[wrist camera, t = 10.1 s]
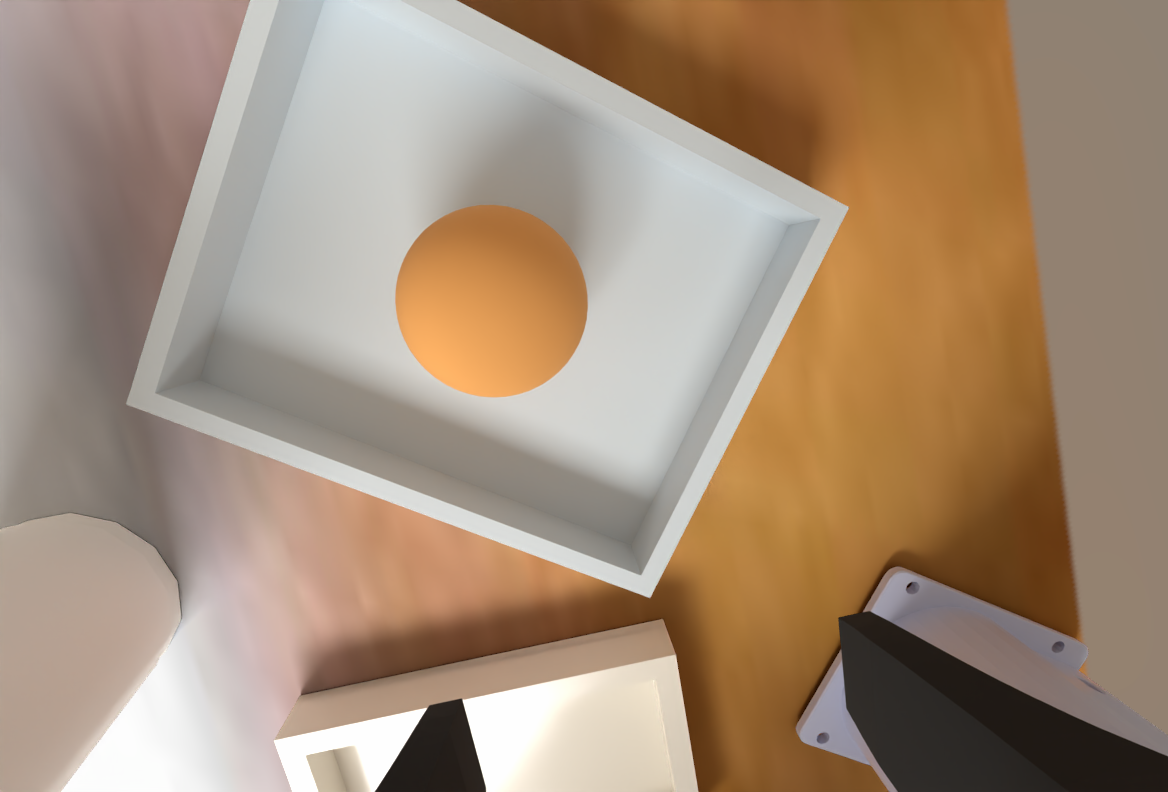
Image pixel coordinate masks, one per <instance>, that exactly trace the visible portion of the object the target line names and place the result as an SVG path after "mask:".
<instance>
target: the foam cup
mask: <svg viewBox="0 0 1168 792" xmlns="http://www.w3.org/2000/svg"><path fill="white" fill-rule="evenodd" d="M180 621H181V609H180V600H179V590H178V582H177V580H176V579H175V577H174V576H173V574H172V573H171V571H170V570H169V568H168V567H167V565H166V564H165V562H164V561H163V559H162V558H161V556H160V555H159V553H158V552H157V550H156V549H155V547H153V546H152V545H150V544H149V543H147V542H146V541H144V540H143V539H141V538H140V537H138V536H137V535H135V534H134V533H132V532H130V531H129V530H127V529H126V528H124V527H123V526H121V525H120V524H118V523H117V522H112V521H107V520H103V519H98V518H93V517H88V516H84V515H79V514H74V513H67V514H61V515H56V516H50V517H45V518H40V519H34V520H29V521H25V522H23V523H21V524H19V525H14V526H9V527H5V528H1V529H0V792H61V791H62V789H63V788H64V787H65V785H66V784H67V783H68V781H69V780H70V779H71V777H72V776H73V775H74V773H75V772H76V771H77V769H78V768H79V767H80V766H81V764H82V763H83V762H84V760H85V759H86V758H87V756H88V755H89V754H90V752H91V751H92V750H93V748H94V747H95V746H96V744H97V743H98V742H99V740H100V739H101V738H102V736H103V735H104V734H105V732H106V731H107V730H108V728H109V727H110V726H111V725H112V723H113V722H114V721H115V719H116V718H117V717H118V715H119V714H120V713H121V711H122V710H123V709H124V707H125V706H126V705H127V703H128V702H129V701H130V699H131V698H132V697H133V695H134V694H135V693H136V691H137V690H138V689H139V687H140V686H141V685H142V684H143V682H144V681H145V680H146V678H147V677H148V676H149V674H150V673H151V672H152V670H153V669H154V668H155V666H156V665H157V663H158V661H159V658H160V657H161V656H162V655H163V654H164V653H165V652H166V651H167V649H168V647H169V644H170V642H171V640H172V638H173V636H174V634H175V632H176V629H177V627H178V625H179V623H180Z"/></svg>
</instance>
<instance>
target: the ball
mask: <svg viewBox="0 0 1168 792" xmlns="http://www.w3.org/2000/svg"><path fill="white" fill-rule="evenodd" d="M395 305H396V315H397V319H398V323H399V327H400V330H401V333H402V335H403V338H404V340H405V342H406V344H407V346H408V348H409V349H410V351H411V352H412V354H413V355H414V357H415V358H416V359H417V361H418V362H419V363H420V364H421V365H422V366H423V367H424V368H425V369H426V370H427V371H428V372H429V373H430V374H431V375H433V376H434V377H435V378H436V379H438V380H439V381H441V382H442V383H444V384H446V385H447V386H450V387H452V388H454V389H456V390H458V391H461V392H464V393H467V394H471V395H476V396H481V397H507V396H513V395H518V394H521V393H524V392H527V391H530V390H532V389H534V388H536V387H538V386H540V385H542V384H544V383H545V382H547V381H548V380H550V379H551V378H552V377H553V376H555V375H556V374H557V373H558V372H559V371H560V370H561V369H562V368H563V367H564V366H565V365H566V364H567V363H568V361H569V360H570V358H571V357H572V355H573V354H574V352H575V351H576V349H577V347H578V345H579V343H580V340H581V338H582V335H583V332H584V329H585V324H586V320H587V311H588V295H587V288H586V282H585V279H584V275H583V272H582V269H581V267H580V265H579V262H578V260H577V258H576V256H575V255H574V253H573V251H572V250H571V248H570V247H569V245H568V244H567V243H566V242H565V240H564V239H563V238H562V237H561V236H560V235H559V234H558V233H557V232H556V231H555V230H554V229H553V228H552V227H550V226H549V225H548V224H546V223H545V222H544V221H542V220H540V219H539V218H537V217H535V216H533V215H532V214H529V213H527V212H524V211H522V210H519V209H515V208H512V207H508V206H500V205H477V206H471V207H466V208H463V209H459V210H456V211H454V212H451V213H449V214H447V215H445V216H443V217H441V218H440V219H438V220H437V221H435V222H434V223H432V224H431V225H430V226H429V227H428V228H426V229H425V230H424V231H423V232H422V233H421V234H420V235H419V237H418V238H417V239H416V240H415V241H414V243H413V244H412V246H411V247H410V249H409V250H408V252H407V254H406V256H405V258H404V260H403V262H402V265H401V268H400V271H399V274H398V278H397V284H396V293H395Z"/></svg>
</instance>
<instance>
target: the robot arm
mask: <svg viewBox="0 0 1168 792" xmlns="http://www.w3.org/2000/svg"><path fill="white" fill-rule="evenodd" d="M911 582H912V585H911V586H910V587H909V588H906V587H907V585H908V584H909V583H911ZM838 619H839V630H840V642H841V650H840V652H839V653H838V655H837V657H836V659H835V660H834V662H833V664H832V665H831V667H830V669H829V670H828V672H827V674H826V676H825V677H824V679H823V681H822V682H821V684H820V686H819V688H818V689H817V691H816V693H815V694H814V696H813V698H812V699H811V701H810V703H809V705H808V706H807V708H806V710H805V711H804V713H803V715H802V717H801V718H800V720H799V722H798V723H797V726H796V732H797V734H798V736H799V738H800V739H801V741H802V742H804V743H805V744H808V745H811V746H814V747H817V748H820V749H823V750H826V751H829V752H832V753H835V754H838V755H841V756H844V757H847V758H850V759H852V760H855V761H858V762H861V763H864V764H867V765H870V766H872V767H873V769H874V770H875V772H876V773H877V775H878V776H879V778H880V779H881V781H882V782H883V784H884V785H885V787H886V788H887V789H888V791H889V792H1168V735H1167V734H1165V733H1164V732H1162V731H1161V730H1160V729H1158V728H1157V727H1156V726H1154V725H1153V724H1152V723H1150V722H1149V721H1147V720H1146V719H1145V718H1143V717H1142V716H1141V715H1139V714H1138V713H1136V712H1135V711H1133V710H1132V709H1131V708H1130V707H1128V706H1127V705H1125V704H1124V703H1123V702H1121V701H1120V700H1119V699H1117V698H1116V697H1114V696H1113V695H1112V694H1110V693H1109V692H1107V691H1106V690H1105V689H1103V688H1102V687H1101V686H1099V685H1098V684H1097V683H1095V682H1094V681H1092V680H1091V679H1090V678H1088V677H1087V676H1086V675H1084V674H1083V673H1081V672H1080V671H1079V669H1080V668H1081V666H1082V665H1083V663H1084V662H1085V660H1086V659H1087V656H1088V648H1087V646H1086V645H1084V644H1083V643H1081V642H1080V641H1079V640H1077V639H1075V638H1073V637H1070V636H1068V635H1065V634H1063V633H1061V632H1058V631H1056V630H1053V629H1051V628H1048V627H1046V626H1044V625H1041V624H1039V623H1036V622H1034V621H1031V620H1029V619H1027V618H1024V617H1022V616H1019V615H1017V614H1014V613H1012V612H1010V611H1007V610H1005V609H1002V608H1000V607H997V606H995V605H993V604H990V603H988V602H985V601H983V600H980V599H978V598H976V597H973V596H971V595H968V594H966V593H963V592H961V591H959V590H956V589H954V588H951V587H949V586H946V585H944V584H942V583H939V582H937V581H934V580H932V579H930V578H927V577H925V576H922V575H920V574H917V573H915V572H913V571H910V570H908V569H905V568H903V567H893V568H891V569H889V570H888V571H887V572H886V574H885V575H884V577H883V578H882V580H881V582H880V583H879V585H878V587H877V589H876V590H875V592H874V594H873V595H872V597H871V599H870V601H869V602H868V604H867V606H866V607H865V609H864V611H863V612H862V613H858V614H853V615H848V616H844V617H839V618H838ZM820 733H822V734H821V735H819V734H820ZM375 792H486V785H485V781H484V777H483V774H482V770H481V766H480V763H479V759H478V755H477V752H476V748H475V744H474V740H473V737H472V733H471V729H470V726H469V722H468V718H467V715H466V711H465V707H464V703H463V700H462V698H461V699H456V700H451V701H447V702H442V703H437V704H433V705H429V707H428V708H427V709H426V711H425V712H424V714H423V715H422V717H421V719H420V720H419V722H418V723H417V725H416V727H415V728H414V730H413V731H412V733H411V735H410V736H409V738H408V740H407V741H406V743H405V744H404V746H403V748H402V749H401V751H400V752H399V754H398V756H397V757H396V759H395V760H394V762H393V764H392V765H391V767H390V768H389V770H388V772H387V773H386V775H385V776H384V778H383V779H382V781H381V783H380V784H379V786H378V787H377V789H376V790H375Z"/></svg>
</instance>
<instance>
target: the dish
mask: <svg viewBox="0 0 1168 792" xmlns="http://www.w3.org/2000/svg"><path fill="white" fill-rule="evenodd" d="M461 698H462V700H463V703H464V707H465V711H466V715H467V718H468V722H469V726H470V729H471V733H472V737H473V740H474V744H475V748H476V752H477V755H478V759H479V763H480V766H481V770H482V774H483V777H484V781H485V785H486V792H698V786H697V780H696V774H695V768H694V762H693V756H692V750H691V744H690V738H689V732H688V725H687V719H686V713H685V707H684V701H683V695H682V689H681V683H680V677H679V671H678V665H677V659H676V654H675V651H674V648H673V645H672V643H671V640H670V637H669V634H668V632H667V629H666V626H665V623H664V621H663V619H660V620H655V621H651V622H646V623H641V624H636V625H632V626H627V627H622V628H617V629H613V630H608V631H603V632H599V633H594V634H589V635H584V636H580V637H575V638H570V639H565V640H561V641H556V642H551V643H547V644H542V645H537V646H532V647H528V648H523V649H518V650H513V651H509V652H504V653H499V654H495V655H490V656H485V657H480V658H476V659H471V660H466V661H461V662H457V663H452V664H447V665H443V666H438V667H433V668H428V669H424V670H419V671H414V672H409V673H405V674H400V675H395V676H391V677H386V678H381V679H376V680H372V681H367V682H362V683H357V684H353V685H348V686H343V687H339V688H334V689H329V690H324V691H320V692H315V693H310V694H305V695H301V696H299V698H298V700H297V702H296V703H295V705H294V707H293V709H292V710H291V712H290V714H289V716H288V717H287V719H286V721H285V722H284V724H283V726H282V728H281V729H280V731H279V733H278V735H277V736H276V738H275V740H274V742H275V745H276V748H277V750H278V753H279V756H280V758H281V761H282V764H283V767H284V769H285V772H286V775H287V777H288V780H289V783H290V786H291V788H292V791H293V792H375V790H376V789H377V787H378V786H379V784H380V783H381V781H382V779H383V778H384V776H385V775H386V773H387V772H388V770H389V768H390V767H391V765H392V764H393V762H394V760H395V759H396V757H397V756H398V754H399V752H400V751H401V749H402V748H403V746H404V744H405V743H406V741H407V740H408V738H409V736H410V735H411V733H412V731H413V730H414V728H415V727H416V725H417V723H418V722H419V720H420V719H421V717H422V715H423V714H424V712H425V711H426V709H427V708H428V707H429V705H433V704H437V703H442V702H447V701H451V700H456V699H461Z"/></svg>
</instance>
